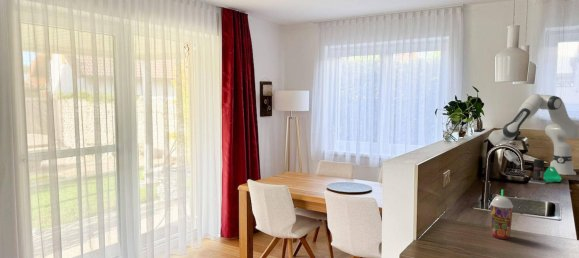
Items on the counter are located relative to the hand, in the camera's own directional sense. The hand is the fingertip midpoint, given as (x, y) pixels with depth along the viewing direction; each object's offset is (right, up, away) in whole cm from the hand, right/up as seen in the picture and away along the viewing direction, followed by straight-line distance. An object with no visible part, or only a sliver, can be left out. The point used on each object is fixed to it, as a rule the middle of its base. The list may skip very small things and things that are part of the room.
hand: (521, 164), depth 277 cm
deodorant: (+8, -11, -7) cm, 15 cm away
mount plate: (+8, -12, -7) cm, 16 cm away
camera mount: (+20, -12, -2) cm, 23 cm away
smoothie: (-78, -20, -116) cm, 141 cm away
